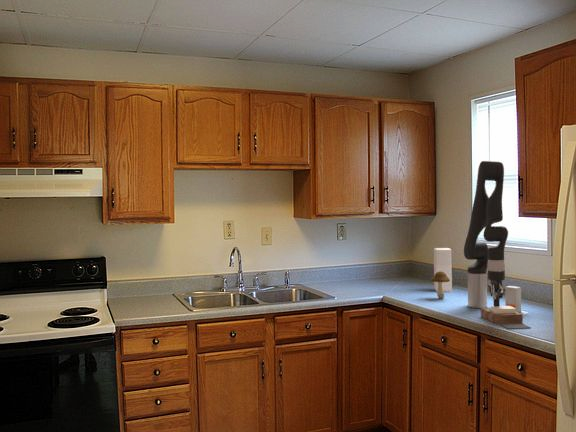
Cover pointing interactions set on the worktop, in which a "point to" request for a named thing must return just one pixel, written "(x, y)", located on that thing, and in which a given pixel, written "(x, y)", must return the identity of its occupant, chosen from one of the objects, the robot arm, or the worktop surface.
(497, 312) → the cream rectangular block
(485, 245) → the robot arm
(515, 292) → the skincare box
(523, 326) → the mat
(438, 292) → the mushroom
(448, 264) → the tall white carton
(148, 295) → the worktop surface
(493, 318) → the brown flat block
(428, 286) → the worktop surface
